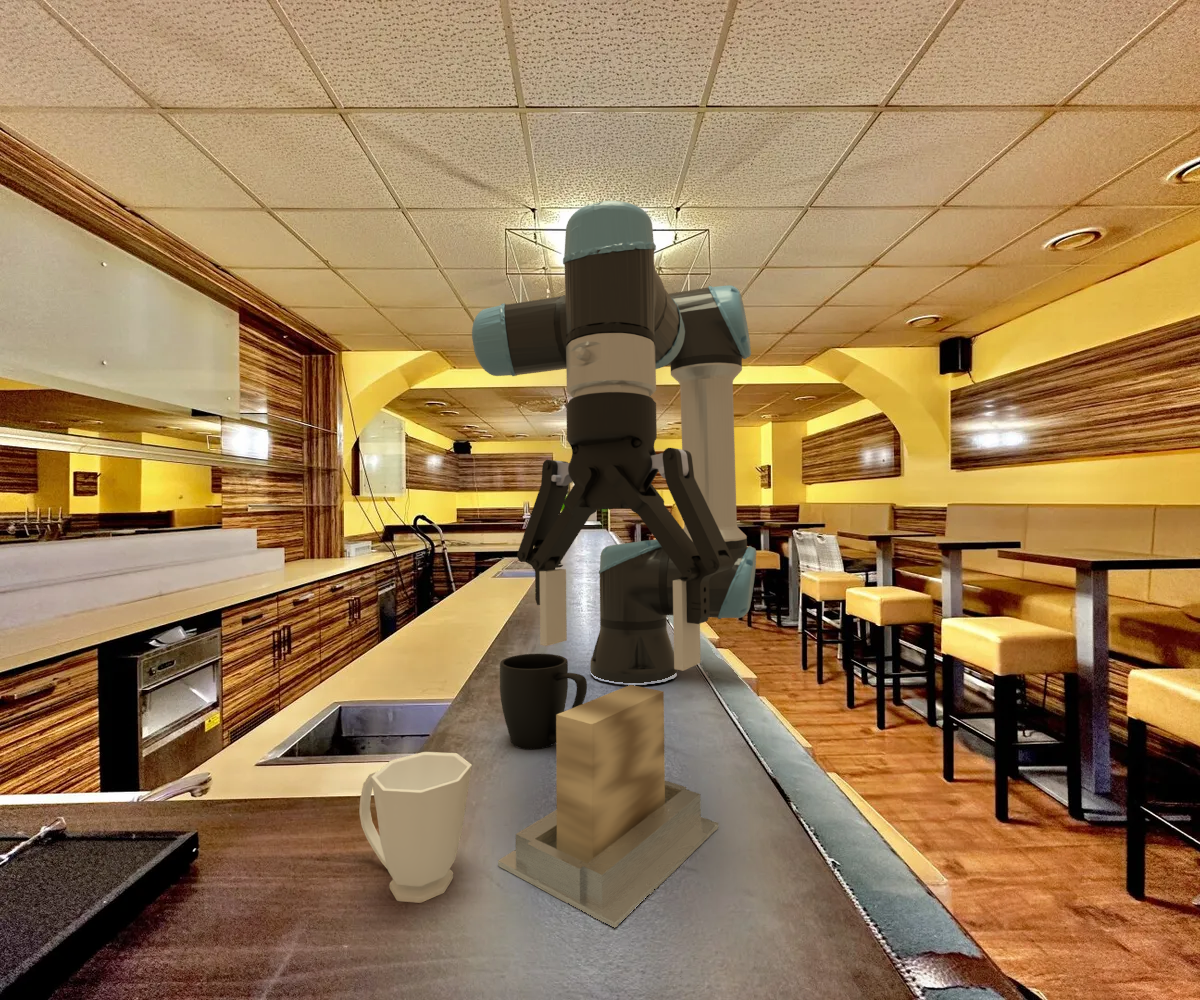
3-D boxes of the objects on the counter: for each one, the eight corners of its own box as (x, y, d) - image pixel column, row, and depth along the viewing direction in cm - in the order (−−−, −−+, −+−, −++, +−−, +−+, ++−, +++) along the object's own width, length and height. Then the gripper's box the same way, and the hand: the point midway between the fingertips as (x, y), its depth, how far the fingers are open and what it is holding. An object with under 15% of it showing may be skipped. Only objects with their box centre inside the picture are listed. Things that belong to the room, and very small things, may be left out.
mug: (556, 770, 59) (556, 679, 59) (485, 742, 67) (485, 661, 67) (605, 746, 65) (605, 664, 66) (535, 723, 73) (535, 650, 73)
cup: (418, 930, 36) (419, 801, 36) (321, 882, 40) (323, 769, 41) (491, 871, 42) (491, 761, 42) (398, 835, 47) (400, 737, 47)
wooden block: (631, 809, 50) (630, 684, 50) (665, 821, 48) (663, 691, 48) (556, 862, 42) (556, 714, 42) (593, 880, 40) (592, 724, 40)
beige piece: (614, 791, 54) (614, 763, 54) (718, 827, 47) (717, 796, 48) (498, 865, 42) (498, 830, 42) (614, 929, 36) (614, 887, 36)
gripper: (478, 410, 51) (479, 642, 51) (731, 361, 36) (738, 692, 35) (535, 421, 57) (537, 628, 56) (773, 382, 42) (779, 666, 41)
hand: (614, 653), depth 46 cm, fingers open, 13 cm apart
